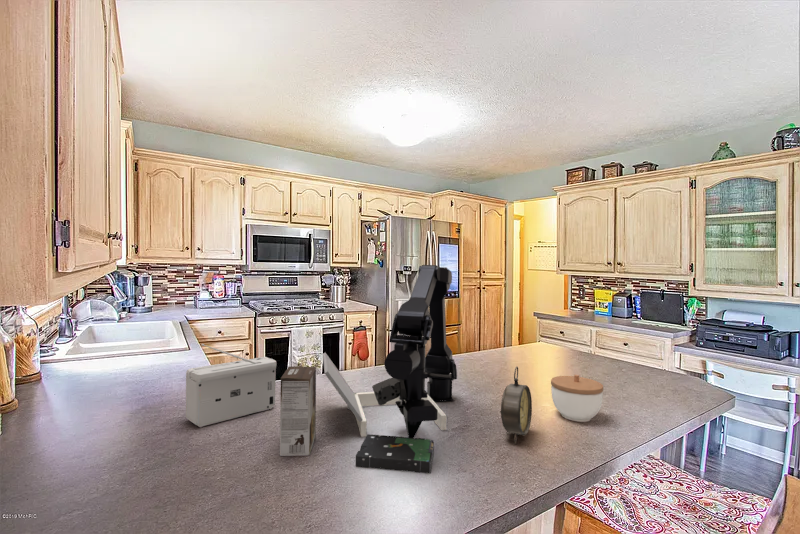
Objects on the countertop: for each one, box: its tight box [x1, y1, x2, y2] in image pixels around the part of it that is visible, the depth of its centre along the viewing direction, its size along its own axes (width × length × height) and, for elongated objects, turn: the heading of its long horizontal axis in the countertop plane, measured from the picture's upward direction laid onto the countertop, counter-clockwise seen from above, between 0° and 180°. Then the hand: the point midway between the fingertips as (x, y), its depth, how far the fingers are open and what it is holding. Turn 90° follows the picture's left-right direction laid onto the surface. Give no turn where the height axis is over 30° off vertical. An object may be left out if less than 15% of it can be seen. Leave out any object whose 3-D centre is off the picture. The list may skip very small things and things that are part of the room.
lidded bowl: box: [550, 374, 604, 423], centre depth 103 cm, size 13×13×11 cm
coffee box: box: [279, 365, 317, 457], centre depth 84 cm, size 9×6×16 cm
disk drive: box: [355, 433, 435, 474], centre depth 80 cm, size 10×3×15 cm
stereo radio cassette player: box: [185, 343, 278, 428], centre depth 101 cm, size 21×8×20 cm, turn 134°
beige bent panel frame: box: [322, 352, 447, 438], centre depth 100 cm, size 29×20×15 cm
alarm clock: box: [500, 365, 533, 445], centre depth 91 cm, size 11×5×16 cm, turn 148°
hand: (410, 438), depth 85 cm, fingers closed
